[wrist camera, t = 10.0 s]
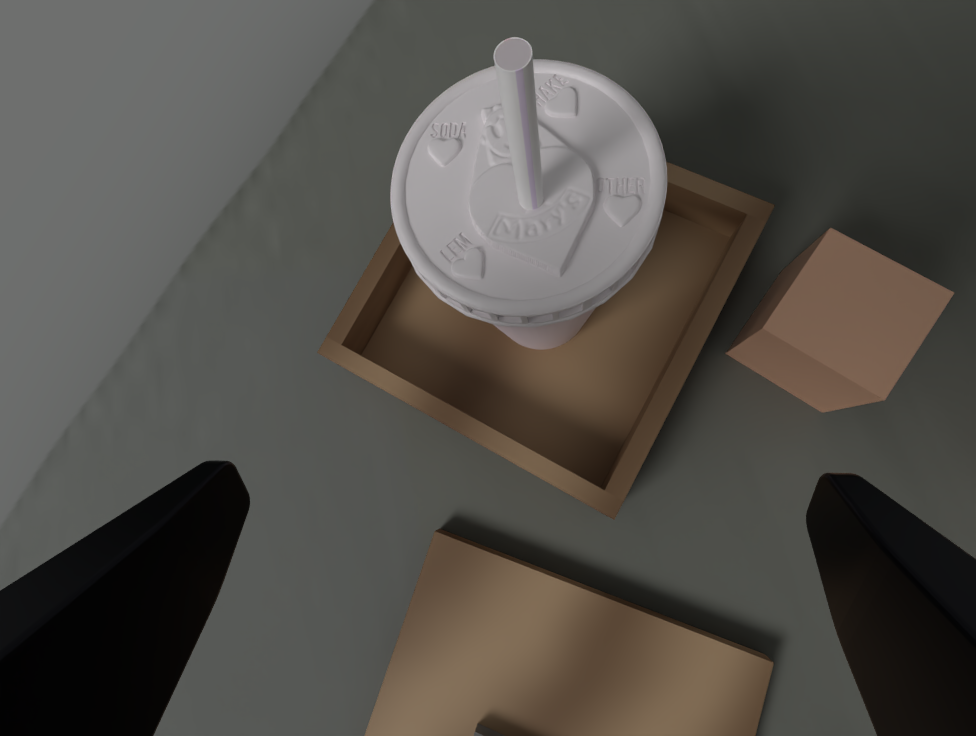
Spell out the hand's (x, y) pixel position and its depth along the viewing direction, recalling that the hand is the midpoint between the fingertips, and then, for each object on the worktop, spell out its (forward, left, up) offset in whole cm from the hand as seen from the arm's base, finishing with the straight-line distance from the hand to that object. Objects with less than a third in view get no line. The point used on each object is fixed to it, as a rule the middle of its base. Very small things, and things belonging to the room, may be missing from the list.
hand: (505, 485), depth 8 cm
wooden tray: (+3, -6, -13) cm, 14 cm away
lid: (-5, +9, -13) cm, 16 cm away
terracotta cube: (-6, -9, -9) cm, 14 cm away
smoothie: (+3, -6, -12) cm, 14 cm away
